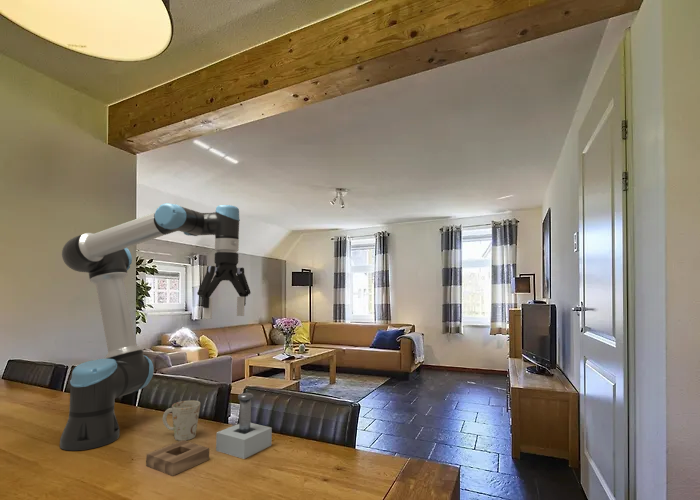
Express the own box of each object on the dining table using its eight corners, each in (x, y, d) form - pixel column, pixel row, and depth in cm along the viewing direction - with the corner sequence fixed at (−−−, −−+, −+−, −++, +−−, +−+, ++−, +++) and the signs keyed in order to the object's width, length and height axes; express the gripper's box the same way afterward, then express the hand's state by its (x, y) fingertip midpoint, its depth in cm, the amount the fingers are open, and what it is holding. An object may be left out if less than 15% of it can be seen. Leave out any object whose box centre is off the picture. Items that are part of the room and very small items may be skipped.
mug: (189, 443, 119) (190, 408, 120) (152, 440, 121) (153, 406, 122) (204, 433, 127) (205, 401, 128) (169, 430, 129) (171, 398, 130)
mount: (146, 465, 104) (146, 453, 104) (182, 450, 113) (183, 440, 114) (172, 475, 98) (173, 463, 98) (208, 459, 108) (209, 447, 108)
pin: (233, 449, 115) (235, 395, 116) (244, 444, 118) (245, 392, 120) (244, 452, 112) (245, 397, 114) (254, 446, 116) (255, 394, 117)
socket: (216, 450, 113) (216, 432, 114) (244, 438, 123) (244, 421, 123) (243, 459, 108) (244, 439, 108) (271, 445, 117) (271, 427, 118)
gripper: (203, 248, 119) (200, 320, 117) (261, 254, 140) (260, 315, 138) (186, 249, 123) (184, 319, 121) (246, 255, 144) (244, 314, 142)
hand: (224, 317), depth 129 cm, fingers open, 13 cm apart
